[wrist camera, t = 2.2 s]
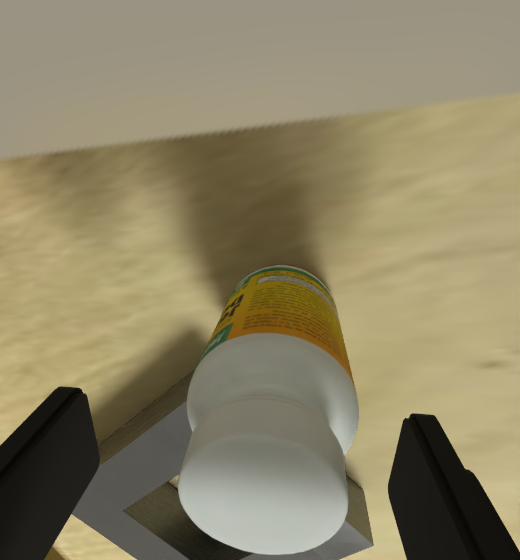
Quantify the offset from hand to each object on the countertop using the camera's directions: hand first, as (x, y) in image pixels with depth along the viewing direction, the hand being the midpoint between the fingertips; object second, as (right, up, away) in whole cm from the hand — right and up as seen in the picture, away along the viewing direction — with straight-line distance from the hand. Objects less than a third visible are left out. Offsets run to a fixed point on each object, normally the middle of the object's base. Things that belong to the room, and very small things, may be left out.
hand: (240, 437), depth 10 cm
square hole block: (-2, -8, +12) cm, 14 cm away
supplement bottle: (+2, +3, +7) cm, 8 cm away
